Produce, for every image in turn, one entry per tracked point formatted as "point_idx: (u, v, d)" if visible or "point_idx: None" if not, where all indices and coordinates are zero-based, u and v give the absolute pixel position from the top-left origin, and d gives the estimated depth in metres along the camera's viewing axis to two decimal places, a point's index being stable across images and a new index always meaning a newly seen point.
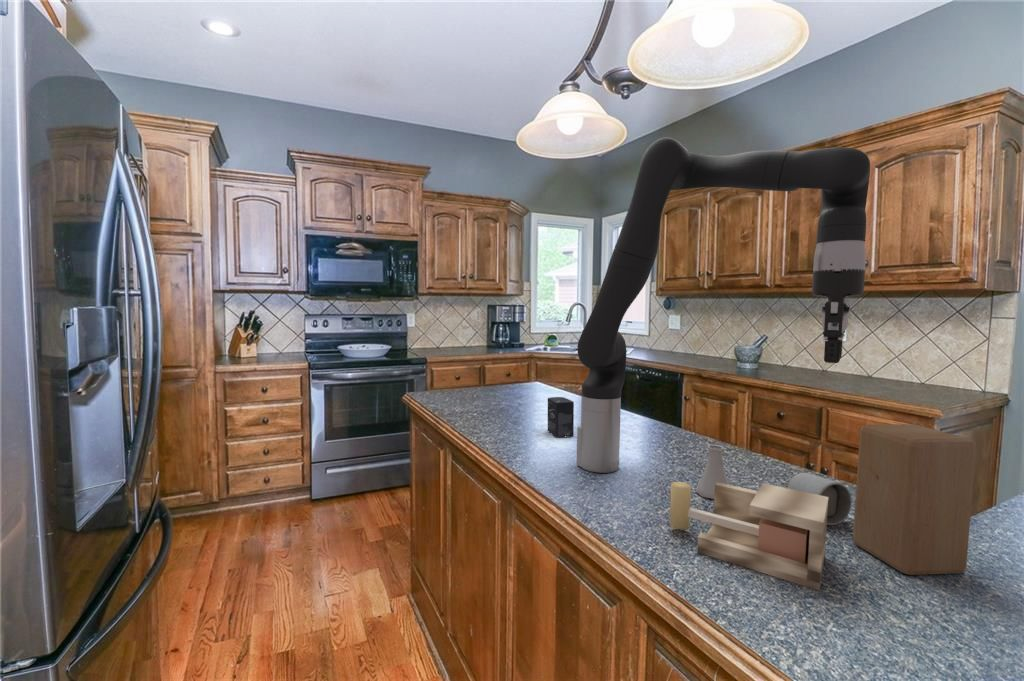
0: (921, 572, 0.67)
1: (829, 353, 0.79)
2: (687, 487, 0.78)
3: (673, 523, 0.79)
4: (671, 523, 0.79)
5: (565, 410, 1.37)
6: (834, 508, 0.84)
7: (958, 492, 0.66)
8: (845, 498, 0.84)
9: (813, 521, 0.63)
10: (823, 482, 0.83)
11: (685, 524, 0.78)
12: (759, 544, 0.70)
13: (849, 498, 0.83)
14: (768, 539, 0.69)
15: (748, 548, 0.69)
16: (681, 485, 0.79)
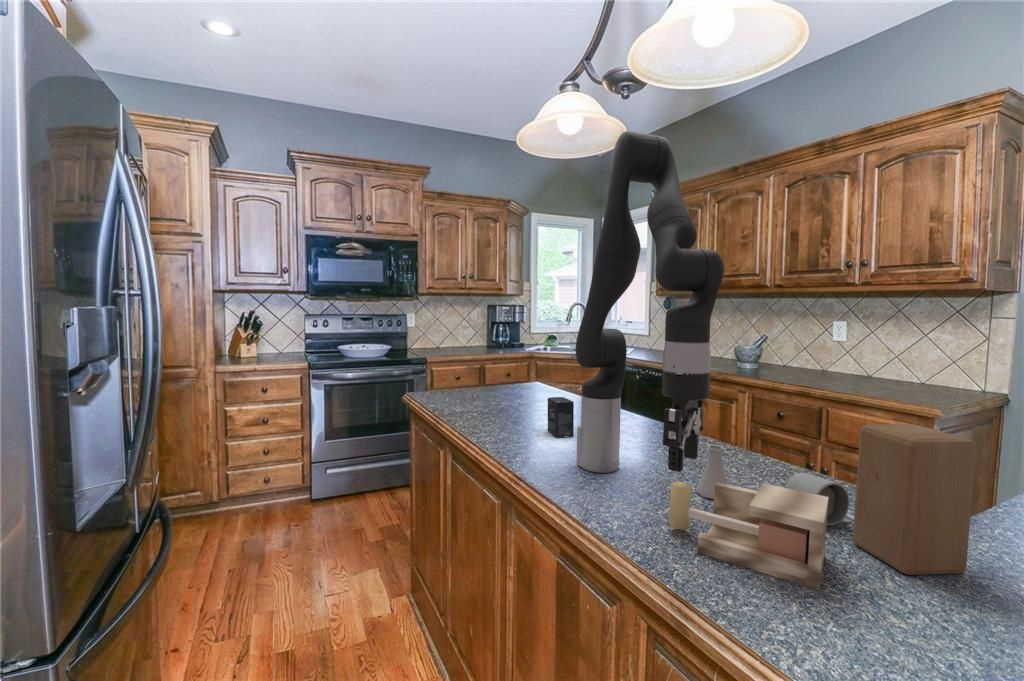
0: (921, 572, 0.67)
1: (671, 461, 0.75)
2: (687, 487, 0.78)
3: (673, 523, 0.79)
4: (671, 523, 0.79)
5: (565, 410, 1.37)
6: (832, 508, 0.84)
7: (958, 492, 0.66)
8: (842, 498, 0.84)
9: (813, 521, 0.63)
10: (820, 483, 0.83)
11: (685, 524, 0.78)
12: (759, 544, 0.70)
13: (847, 498, 0.83)
14: (768, 539, 0.69)
15: (748, 548, 0.69)
16: (681, 485, 0.79)
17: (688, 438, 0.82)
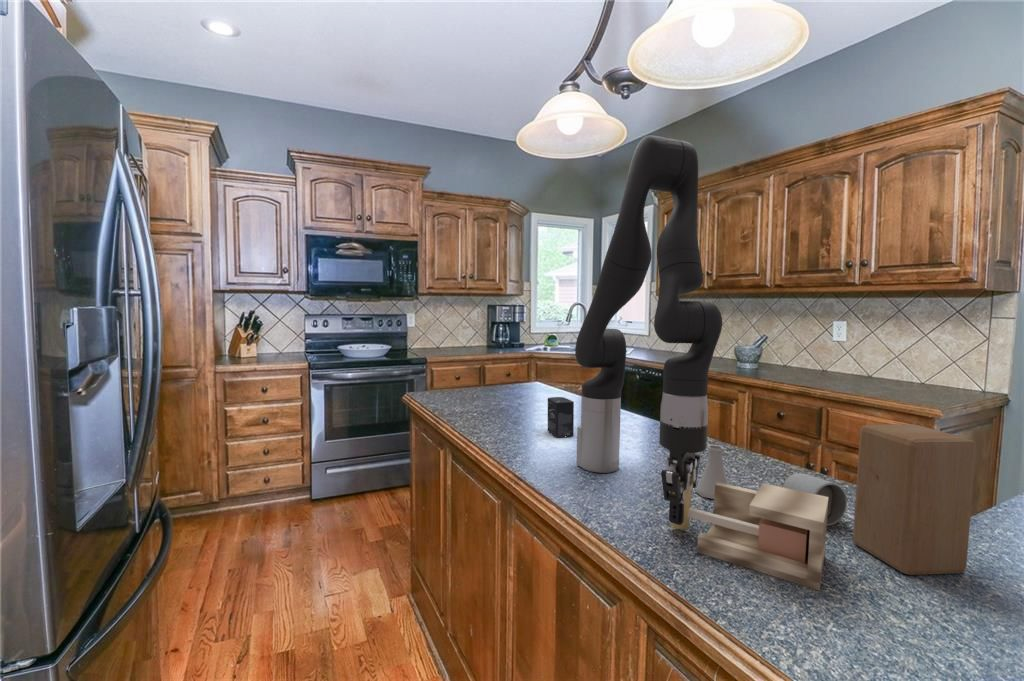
0: (921, 572, 0.67)
1: (672, 515, 0.77)
2: None
3: (673, 523, 0.79)
4: (671, 523, 0.79)
5: (565, 410, 1.37)
6: (830, 508, 0.84)
7: (958, 492, 0.66)
8: (840, 499, 0.84)
9: (813, 521, 0.63)
10: (818, 483, 0.83)
11: (685, 524, 0.78)
12: (759, 544, 0.70)
13: (844, 498, 0.83)
14: (768, 539, 0.69)
15: (748, 548, 0.69)
16: None
17: None
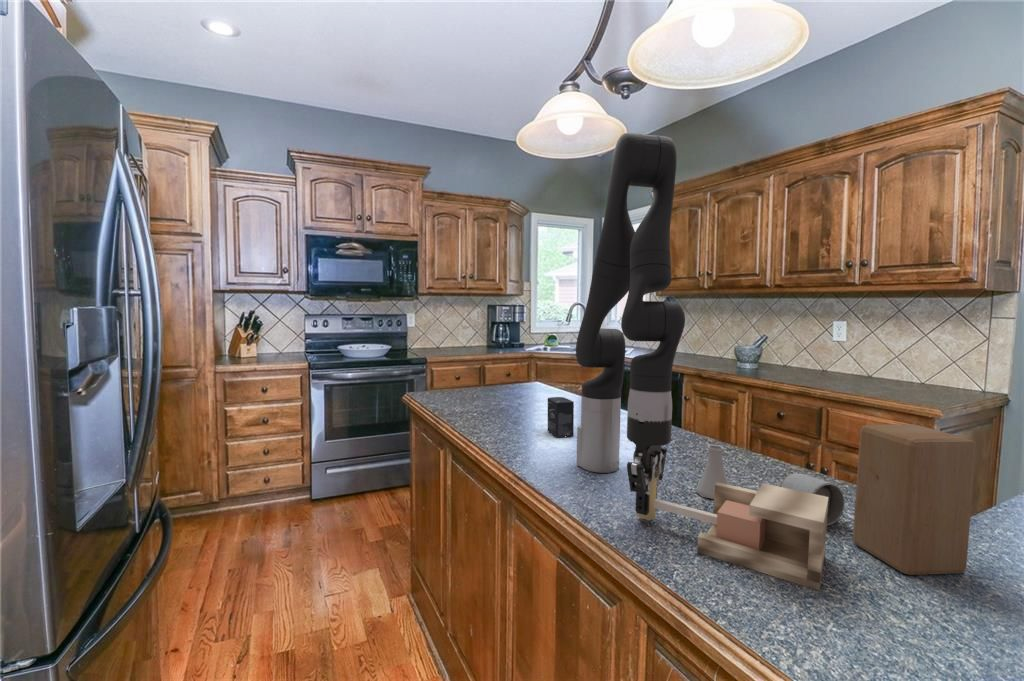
0: (921, 572, 0.67)
1: (638, 505, 0.81)
2: None
3: None
4: (638, 513, 0.83)
5: (565, 410, 1.37)
6: None
7: (958, 492, 0.66)
8: (838, 499, 0.84)
9: (813, 521, 0.63)
10: (816, 483, 0.83)
11: (651, 514, 0.82)
12: (717, 532, 0.73)
13: (842, 499, 0.83)
14: (725, 527, 0.72)
15: (748, 548, 0.69)
16: None
17: None
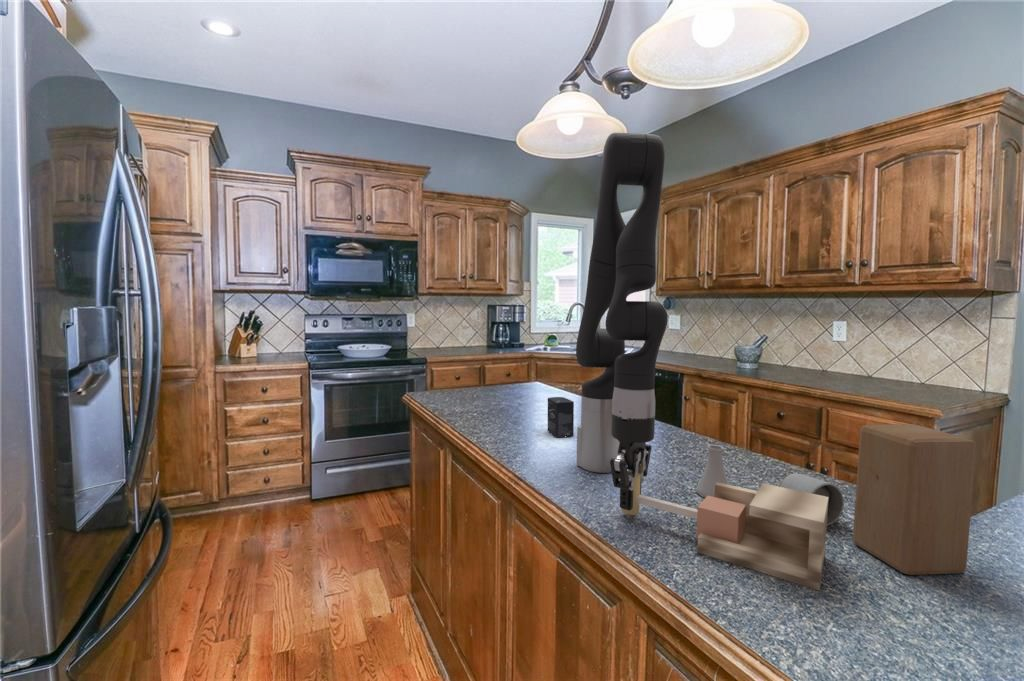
0: (921, 572, 0.67)
1: (622, 501, 0.83)
2: None
3: (624, 509, 0.84)
4: (622, 509, 0.85)
5: (565, 410, 1.37)
6: None
7: (958, 492, 0.66)
8: (837, 499, 0.84)
9: (813, 521, 0.63)
10: (815, 483, 0.83)
11: (634, 510, 0.84)
12: (697, 527, 0.75)
13: (841, 499, 0.83)
14: (705, 522, 0.74)
15: (748, 548, 0.69)
16: None
17: None
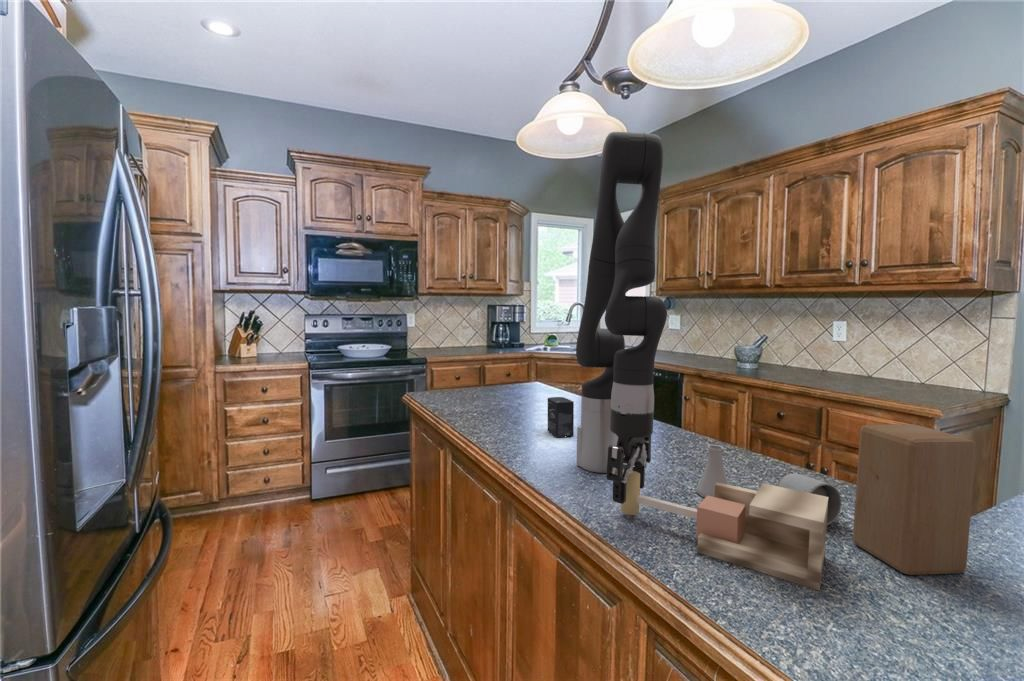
0: (921, 572, 0.67)
1: (615, 494, 0.81)
2: (636, 475, 0.84)
3: (623, 509, 0.84)
4: (622, 509, 0.85)
5: (565, 410, 1.37)
6: None
7: (958, 492, 0.66)
8: (835, 499, 0.84)
9: (813, 521, 0.63)
10: (812, 483, 0.83)
11: (634, 510, 0.84)
12: (697, 527, 0.75)
13: (839, 499, 0.83)
14: (705, 522, 0.74)
15: (748, 548, 0.69)
16: (631, 474, 0.84)
17: (636, 469, 0.88)
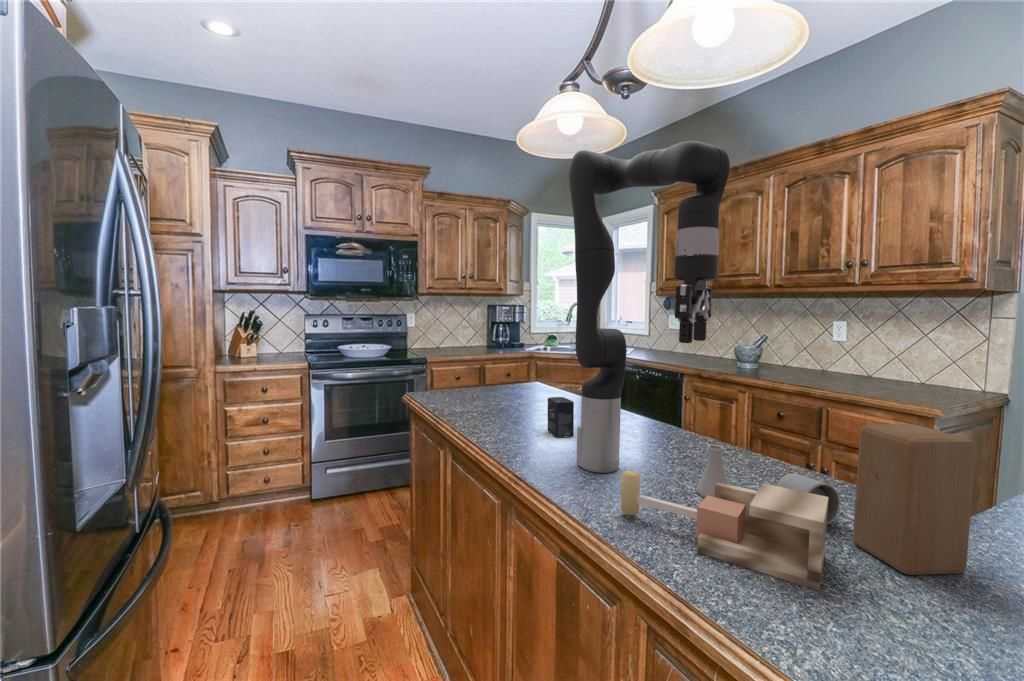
0: (921, 572, 0.67)
1: (682, 334, 0.83)
2: (636, 475, 0.84)
3: (623, 509, 0.84)
4: (622, 509, 0.85)
5: (565, 410, 1.37)
6: None
7: (958, 492, 0.66)
8: (833, 499, 0.84)
9: (813, 521, 0.63)
10: (810, 483, 0.83)
11: (634, 510, 0.84)
12: (697, 527, 0.75)
13: (837, 499, 0.83)
14: (705, 522, 0.74)
15: (748, 548, 0.69)
16: (631, 474, 0.84)
17: (697, 322, 0.91)
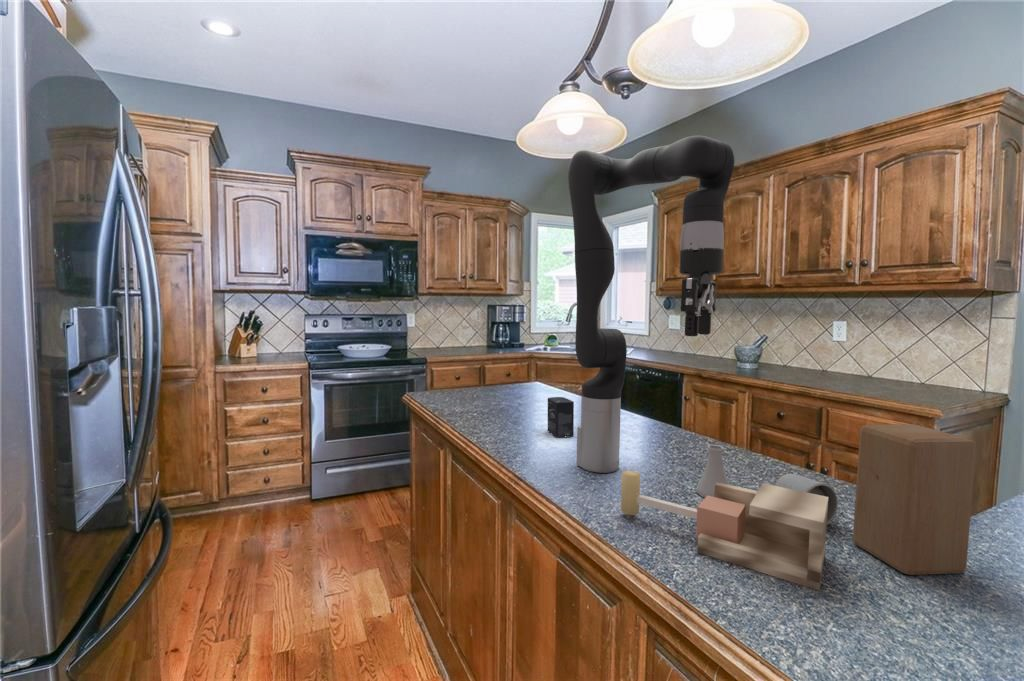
0: (921, 572, 0.67)
1: (688, 327, 0.84)
2: (636, 475, 0.84)
3: (623, 509, 0.84)
4: (622, 509, 0.85)
5: (565, 410, 1.37)
6: None
7: (958, 492, 0.66)
8: (831, 499, 0.84)
9: (813, 521, 0.63)
10: (808, 483, 0.83)
11: (634, 510, 0.84)
12: (697, 527, 0.75)
13: (835, 499, 0.83)
14: (705, 522, 0.74)
15: (748, 548, 0.69)
16: (631, 474, 0.84)
17: (702, 316, 0.91)
